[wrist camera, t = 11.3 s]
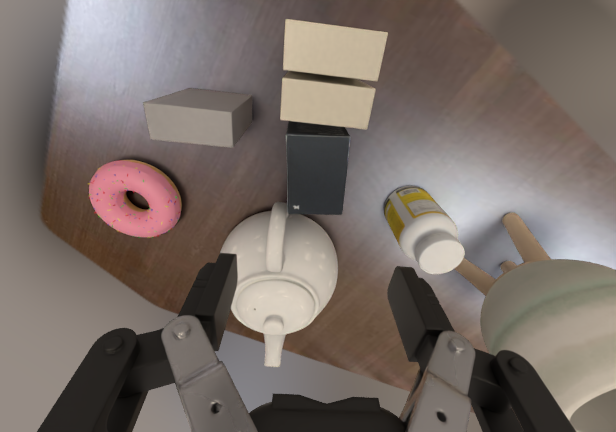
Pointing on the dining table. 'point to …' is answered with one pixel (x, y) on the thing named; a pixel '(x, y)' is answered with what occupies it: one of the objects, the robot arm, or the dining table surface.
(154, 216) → the doughnut
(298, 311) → the teapot
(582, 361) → the planter
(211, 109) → the grey books
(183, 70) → the dining table surface
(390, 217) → the pill bottle
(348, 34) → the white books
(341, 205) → the box
